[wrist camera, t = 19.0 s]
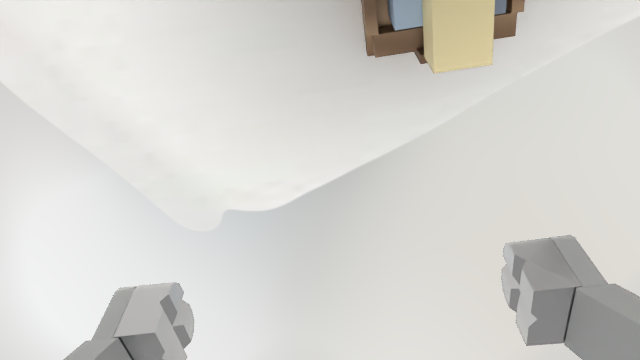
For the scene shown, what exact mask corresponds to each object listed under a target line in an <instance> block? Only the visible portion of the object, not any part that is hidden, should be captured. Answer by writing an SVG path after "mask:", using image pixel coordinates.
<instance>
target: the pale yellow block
mask: <svg viewBox="0 0 640 360" xmlns="http://www.w3.org/2000/svg"><path fill="white" fill-rule="evenodd" d="M422 11H423V37H424V57H425V59H426V61H427V63H428V64H429V66H430V68H431V69H432V71H433V73H440V72H447V71H453V70H460V69H466V68H473V67H479V66H486V65H492V57H493V34H494V12H495V0H422Z"/></svg>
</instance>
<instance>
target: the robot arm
mask: <svg viewBox="0 0 640 360" xmlns="http://www.w3.org/2000/svg"><path fill="white" fill-rule="evenodd" d="M503 256H504V259H505V261H506V263H507V264H506V265H505V266H504V267H503V268H502V277H501V278H502V287H503V292H504V295H505V298H506V301H507V303H508V306H509V307H510V308H511V309H512V310H514V311H516V312H517V315H516V324H517V326H518V328H519V330H520V333H521V335H522V337H523V340H524V342H525V344H526V346H530V345H543V344H557V343H565V346H566V347H568V348H569V349H570V350H572V351H573V352H574V353H575V354H576V355H577V356H579V357H580V358H581V359H582V360H640V297H639V296H637V295H636V294H634V293H632V292H630V291H628V290H626V289H624V288H622V287H620V286H619V285H617V284H608V283H607V282H606V280H605V279H604V278H603V276H602V275H601V273H600V272H599V271H598V270H597V268H596V266H595V265H594V264H593V262H592V261H591V260H590V258H589V257H588V255H587V254H586V253H585V251H584V250H583V248H582V247H581V246H580V244H579V243H578V241H577V240H576V239H575V237H573V236H571V235H566V236H558V237H550V238H544V239H536V240H528V241H520V242H513V243H506V244H505V246H504V250H503ZM183 293H184V292H183V290H182V288H181V286H180V284H179V283H164V284H153V285H142V286H137V287H124V288H119V289H118V290H117V291H116V292H115V293H114V295H113V297H112V299H111V301H110V303H109V305H108V307H107V309H106V311H105V314H104V316H103V318H102V320H101V322H100V324H99V326H98V328H97V330H96V332H95V334H94V336H93V338H92V340H91V341H85V342H84V343H83V344H82V345H80V346H79V347H78V348H77V349H76V350H74V351H73V352H72V353H71V354H70V355H69V356H67V357H66V358H65V359H64V360H186V359H187V355H186V353H185V351H184V348H185V347H186V346H187V345H188V344H189V343H190V342H191V340H192V336H193V332H194V317H193V313H192V310H191V308H190V305H189V304H188V303H186V302H185V301H183V300H182V297H183Z"/></svg>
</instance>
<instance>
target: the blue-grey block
mask: <svg viewBox="0 0 640 360" xmlns="http://www.w3.org/2000/svg"><path fill="white" fill-rule="evenodd" d="M506 2H507V0H495V12H494V15H496V14H503V13H506ZM387 6H388V17H389V19H390V21H391V23H392V25H393V27H394V29H395V30H401V29H408V28H414V27H420V26H423V11H422V0H387Z"/></svg>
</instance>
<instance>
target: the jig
mask: <svg viewBox="0 0 640 360" xmlns="http://www.w3.org/2000/svg"><path fill="white" fill-rule="evenodd" d="M362 10H363V20H364V29H365V39H366V49H367V55H368V56H373V55H375V57H382V56H388V55H395V54H401V53H408V52H415V54H416V56H417V58H418V60H419V62H420V64H424V63H427V61H426V59H425V57H424V37H423V26H420V27H414V28H408V29H401V30H395V29H394V27H393V25H392V23H391V21H390V19H389V17H388V6H387V0H362ZM523 11H524V0H507V2H506V13H503V14H496V15H494V34H493V39H498V38H505V37H511V36H515V31H516V17H517V12H523Z"/></svg>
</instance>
